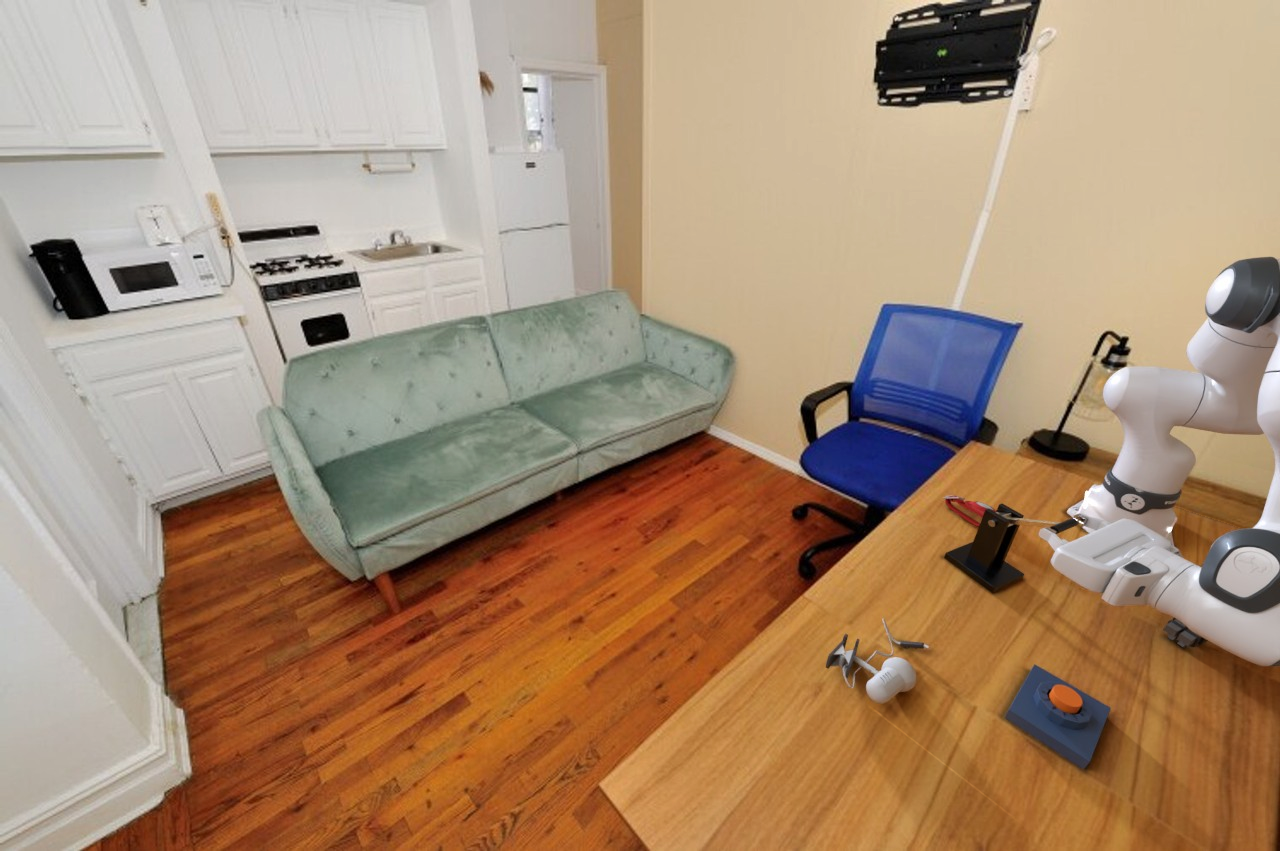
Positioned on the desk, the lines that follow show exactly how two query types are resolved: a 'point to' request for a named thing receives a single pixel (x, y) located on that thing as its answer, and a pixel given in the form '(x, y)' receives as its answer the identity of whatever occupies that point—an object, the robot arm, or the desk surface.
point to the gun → (1183, 634)
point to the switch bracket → (989, 551)
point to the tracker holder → (967, 507)
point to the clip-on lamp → (885, 682)
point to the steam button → (1065, 699)
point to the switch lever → (1041, 522)
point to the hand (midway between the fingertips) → (1058, 523)
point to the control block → (1058, 718)
